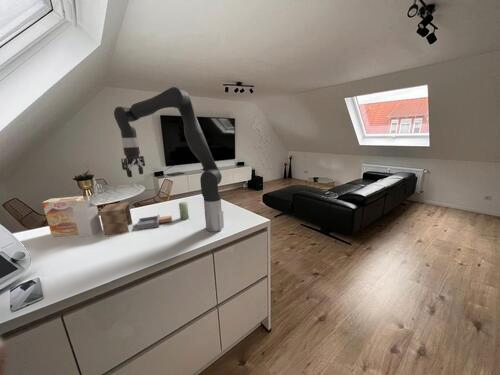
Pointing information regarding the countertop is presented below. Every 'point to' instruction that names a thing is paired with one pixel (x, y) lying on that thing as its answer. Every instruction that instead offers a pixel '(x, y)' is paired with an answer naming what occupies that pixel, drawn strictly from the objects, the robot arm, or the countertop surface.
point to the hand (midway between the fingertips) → (136, 175)
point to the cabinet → (116, 218)
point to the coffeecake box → (61, 215)
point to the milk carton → (87, 219)
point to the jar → (183, 210)
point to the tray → (152, 221)
